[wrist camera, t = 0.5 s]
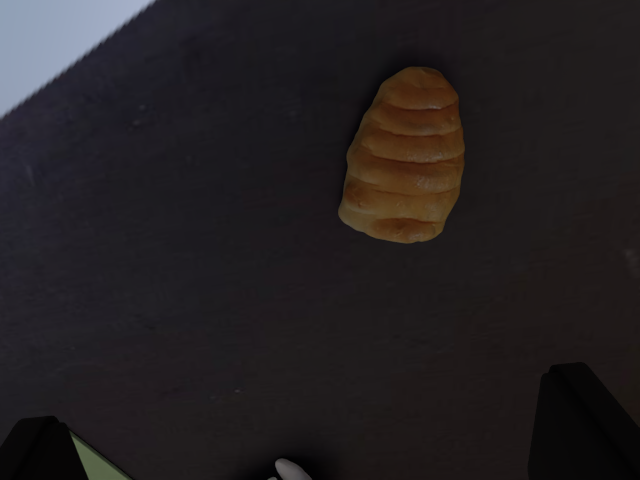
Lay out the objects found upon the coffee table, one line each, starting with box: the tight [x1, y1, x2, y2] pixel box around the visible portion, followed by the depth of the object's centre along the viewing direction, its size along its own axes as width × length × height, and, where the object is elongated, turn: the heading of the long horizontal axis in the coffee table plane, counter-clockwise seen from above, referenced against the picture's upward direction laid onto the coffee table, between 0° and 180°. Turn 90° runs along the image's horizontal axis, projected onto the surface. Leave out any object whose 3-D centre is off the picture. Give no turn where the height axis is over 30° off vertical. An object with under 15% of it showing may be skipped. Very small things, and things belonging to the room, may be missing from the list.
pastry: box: [338, 67, 465, 243], centre depth 27 cm, size 9×7×4 cm
